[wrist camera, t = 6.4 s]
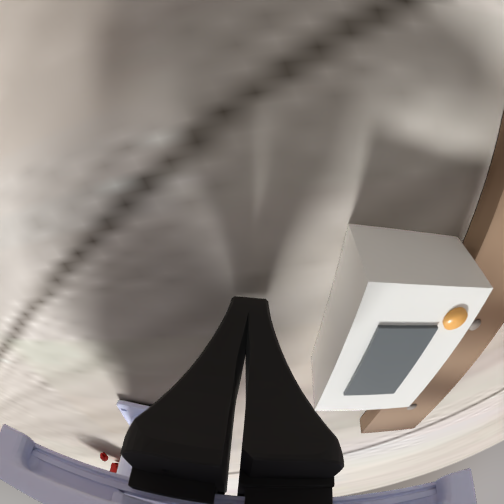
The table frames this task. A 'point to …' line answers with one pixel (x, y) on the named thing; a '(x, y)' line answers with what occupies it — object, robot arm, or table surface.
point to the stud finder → (393, 317)
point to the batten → (488, 319)
